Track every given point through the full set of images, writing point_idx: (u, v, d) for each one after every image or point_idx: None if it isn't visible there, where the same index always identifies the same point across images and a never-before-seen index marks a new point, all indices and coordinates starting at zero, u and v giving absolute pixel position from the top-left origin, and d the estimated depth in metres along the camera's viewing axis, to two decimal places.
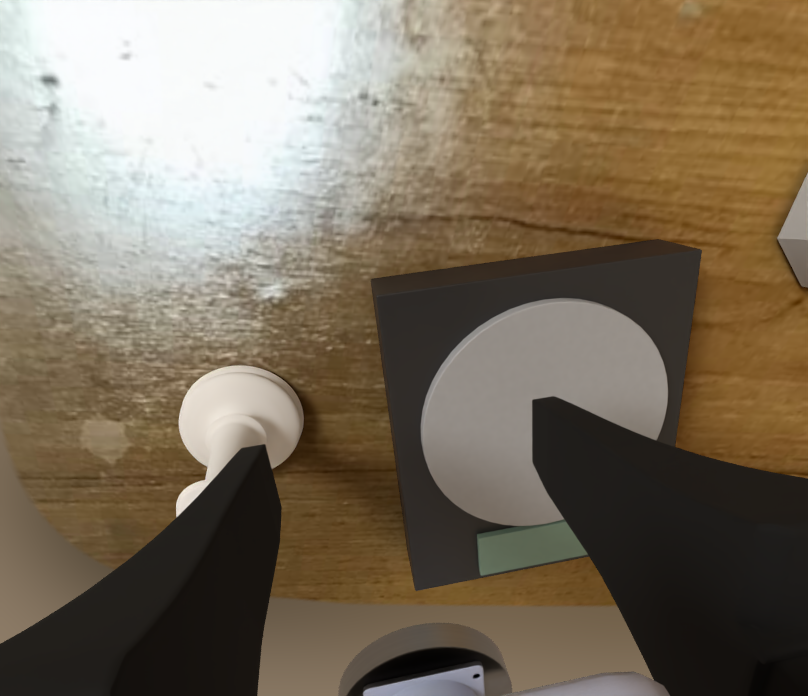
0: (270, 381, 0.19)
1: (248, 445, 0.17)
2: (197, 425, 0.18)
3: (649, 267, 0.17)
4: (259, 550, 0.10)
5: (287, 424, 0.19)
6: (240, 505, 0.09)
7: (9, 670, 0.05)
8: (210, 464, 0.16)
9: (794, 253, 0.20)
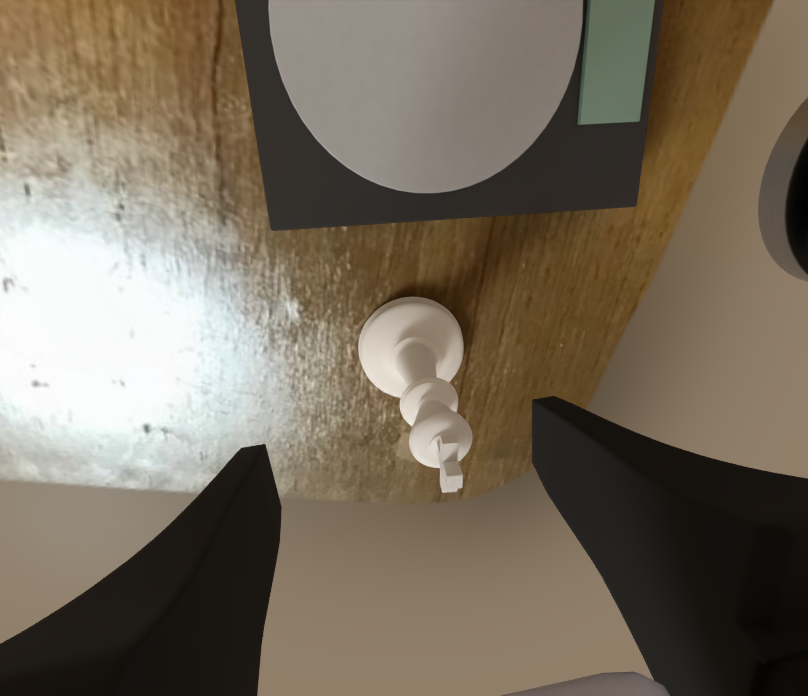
0: (370, 323, 0.21)
1: (411, 356, 0.19)
2: (402, 386, 0.22)
3: None
4: (259, 550, 0.10)
5: (413, 315, 0.21)
6: (240, 505, 0.09)
7: (7, 671, 0.05)
8: None
9: None
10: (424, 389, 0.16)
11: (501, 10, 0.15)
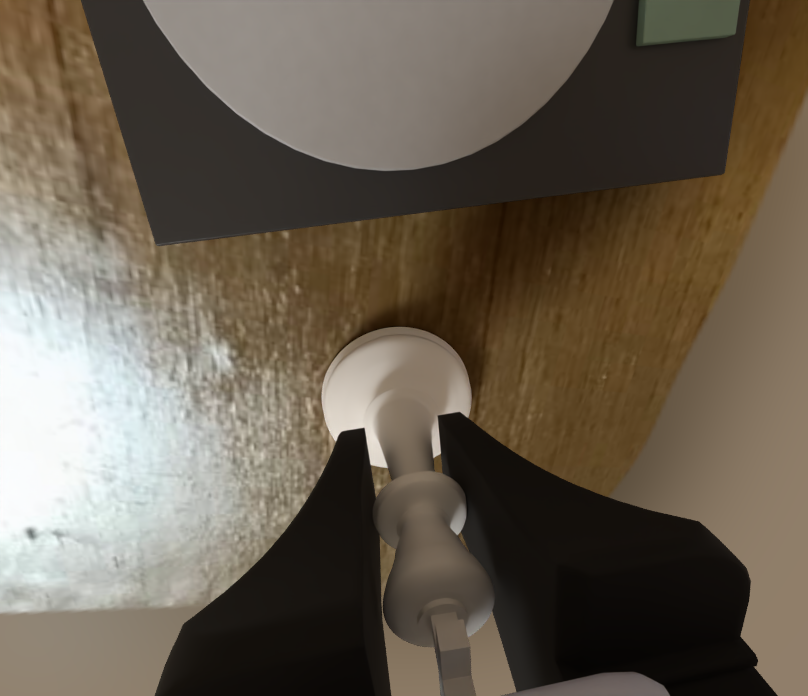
0: (335, 369, 0.14)
1: (393, 420, 0.13)
2: None
3: None
4: (373, 529, 0.10)
5: (395, 355, 0.14)
6: (364, 483, 0.10)
7: (245, 623, 0.05)
8: None
9: None
10: (410, 493, 0.10)
11: None
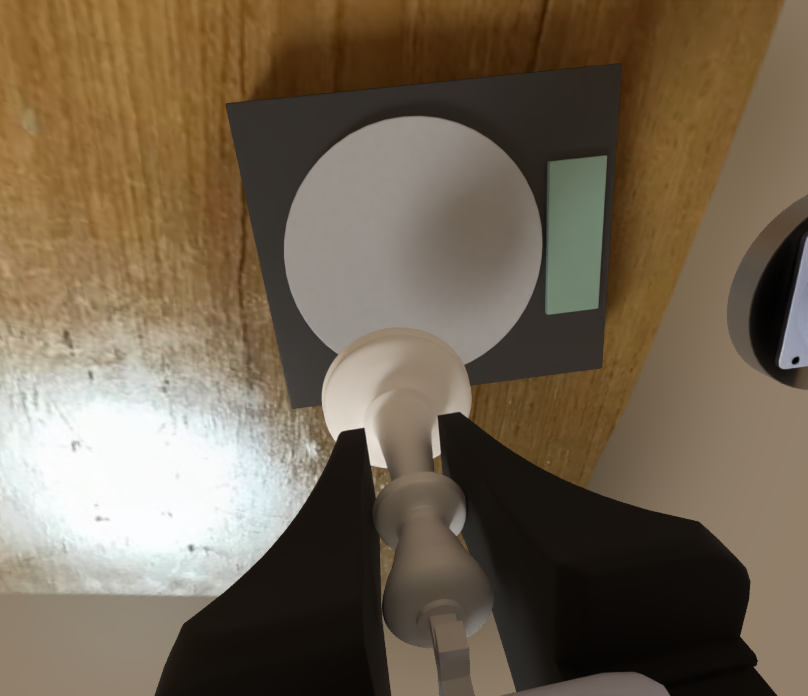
0: (335, 370, 0.14)
1: (393, 421, 0.13)
2: None
3: (249, 165, 0.17)
4: (373, 529, 0.10)
5: (395, 355, 0.14)
6: (364, 483, 0.10)
7: (244, 623, 0.05)
8: None
9: None
10: (409, 494, 0.10)
11: (474, 242, 0.18)
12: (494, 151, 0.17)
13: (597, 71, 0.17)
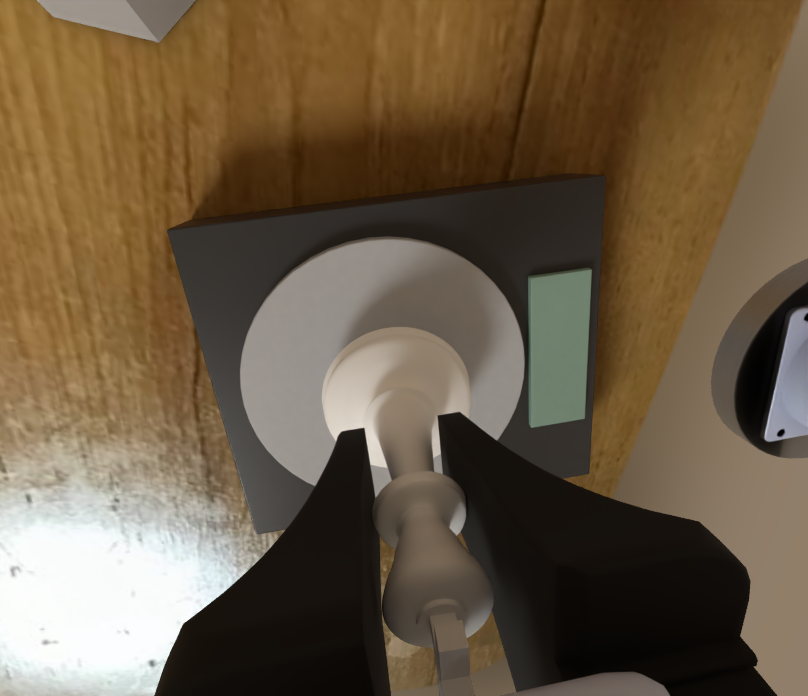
0: (335, 369, 0.14)
1: (393, 420, 0.13)
2: None
3: (197, 292, 0.15)
4: (373, 529, 0.10)
5: (395, 355, 0.14)
6: (364, 483, 0.10)
7: (245, 623, 0.05)
8: None
9: (172, 11, 0.14)
10: (409, 494, 0.10)
11: None
12: (470, 271, 0.15)
13: (580, 184, 0.15)
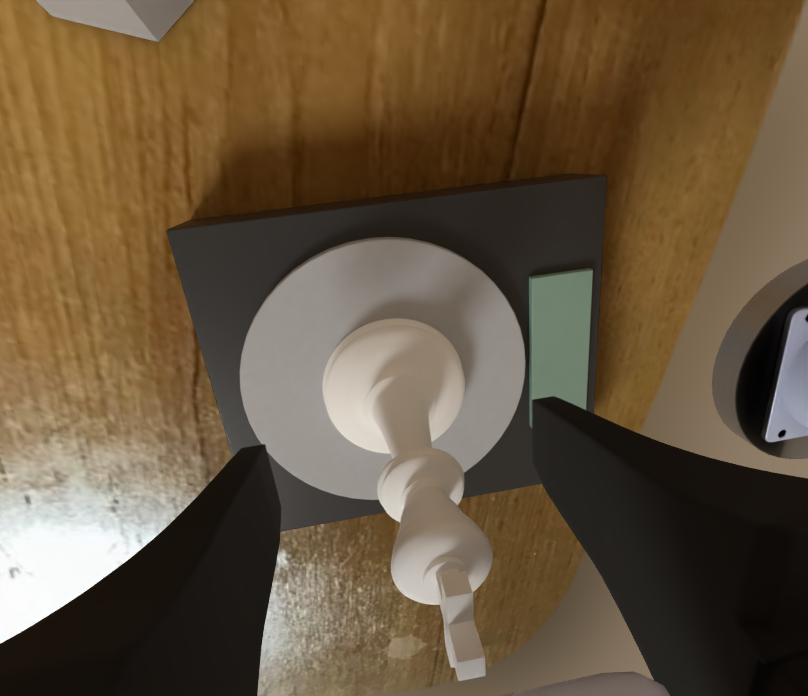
0: (335, 359, 0.15)
1: (392, 405, 0.14)
2: (385, 440, 0.16)
3: (196, 293, 0.15)
4: (259, 550, 0.10)
5: (393, 344, 0.15)
6: (240, 505, 0.09)
7: (7, 670, 0.05)
8: None
9: (171, 10, 0.14)
10: (412, 468, 0.11)
11: None
12: (471, 272, 0.15)
13: (581, 184, 0.15)
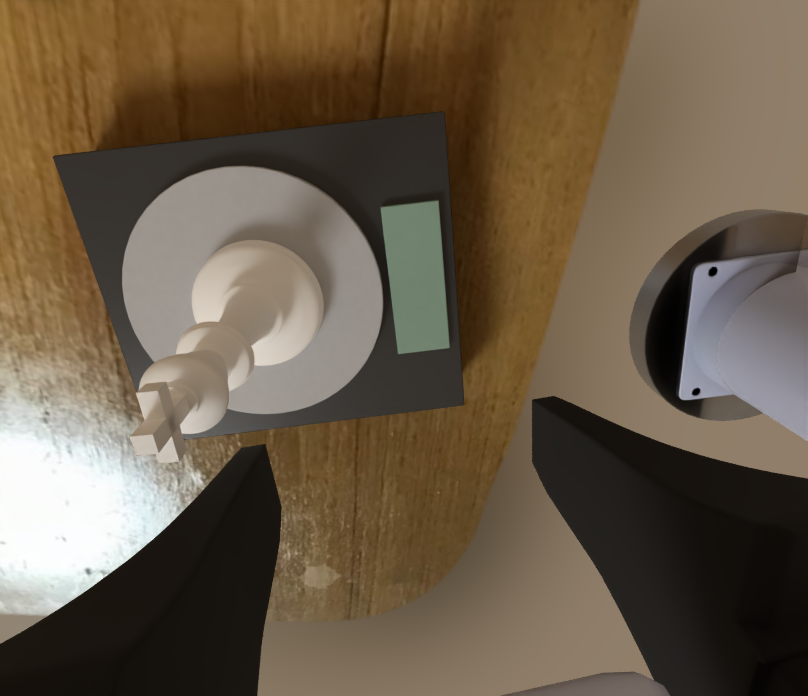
0: (198, 273, 0.17)
1: (229, 306, 0.16)
2: None
3: (83, 213, 0.17)
4: (259, 550, 0.10)
5: (245, 259, 0.17)
6: (240, 505, 0.09)
7: (9, 669, 0.05)
8: None
9: None
10: (198, 336, 0.13)
11: None
12: (320, 198, 0.17)
13: (420, 119, 0.17)
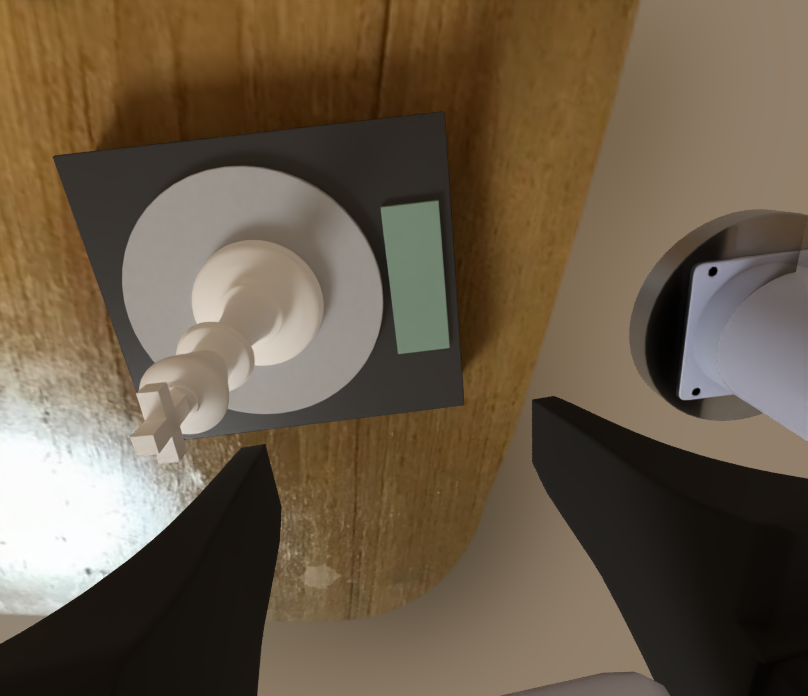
0: (198, 273, 0.17)
1: (229, 306, 0.16)
2: None
3: (83, 213, 0.17)
4: (259, 550, 0.10)
5: (245, 259, 0.17)
6: (240, 505, 0.09)
7: (9, 669, 0.05)
8: None
9: None
10: (198, 337, 0.13)
11: None
12: (320, 198, 0.17)
13: (420, 119, 0.17)
